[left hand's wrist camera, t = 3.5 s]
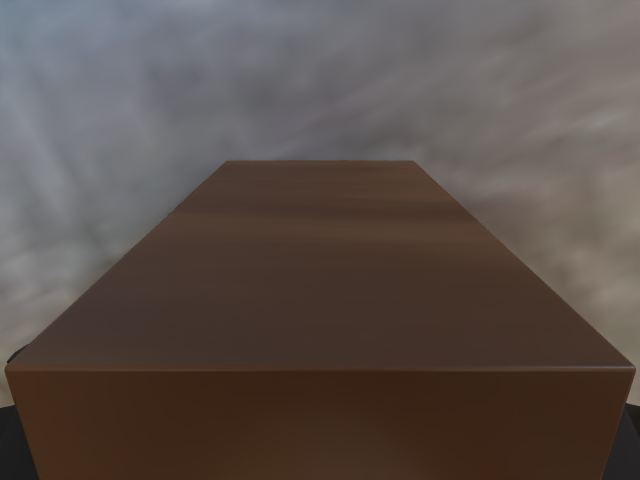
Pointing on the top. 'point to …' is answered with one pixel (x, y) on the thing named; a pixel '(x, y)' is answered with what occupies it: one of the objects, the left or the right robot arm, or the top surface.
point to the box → (320, 344)
